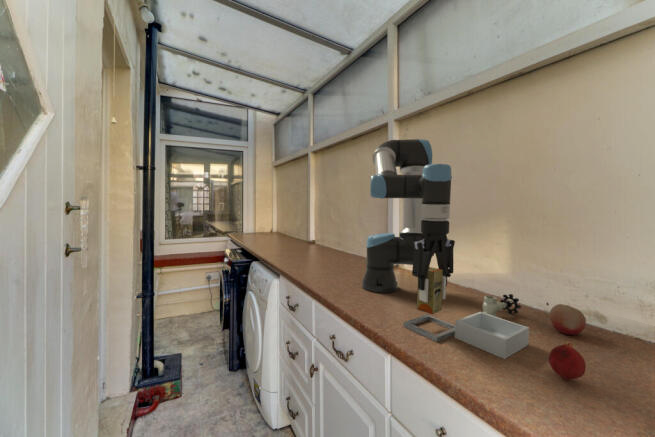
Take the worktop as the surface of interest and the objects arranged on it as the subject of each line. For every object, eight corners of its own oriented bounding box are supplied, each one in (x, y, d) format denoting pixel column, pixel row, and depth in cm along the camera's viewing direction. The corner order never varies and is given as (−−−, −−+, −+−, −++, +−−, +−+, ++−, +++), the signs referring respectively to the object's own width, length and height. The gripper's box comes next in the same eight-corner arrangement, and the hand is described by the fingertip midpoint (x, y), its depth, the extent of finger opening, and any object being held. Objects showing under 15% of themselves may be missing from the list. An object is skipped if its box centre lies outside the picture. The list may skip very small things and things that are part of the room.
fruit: (593, 338, 77) (595, 309, 77) (568, 340, 76) (570, 311, 75) (564, 325, 85) (566, 299, 85) (541, 327, 84) (543, 300, 83)
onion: (574, 392, 55) (576, 351, 54) (541, 375, 60) (543, 338, 59) (590, 384, 57) (593, 345, 56) (557, 369, 62) (559, 333, 62)
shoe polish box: (417, 309, 83) (418, 269, 82) (425, 305, 86) (426, 266, 85) (432, 314, 79) (434, 272, 78) (441, 310, 83) (442, 269, 82)
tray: (454, 337, 76) (455, 320, 76) (479, 326, 83) (480, 311, 83) (504, 359, 66) (505, 339, 66) (528, 344, 73) (529, 327, 73)
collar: (402, 326, 83) (403, 322, 83) (427, 318, 90) (427, 314, 89) (436, 342, 74) (436, 337, 74) (461, 331, 80) (461, 327, 80)
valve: (494, 322, 87) (520, 317, 92) (494, 301, 87) (521, 297, 91) (476, 314, 94) (501, 309, 98) (476, 294, 93) (502, 291, 97)
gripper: (418, 221, 73) (415, 308, 75) (470, 219, 80) (466, 299, 82) (399, 219, 80) (397, 299, 81) (449, 218, 87) (446, 291, 89)
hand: (432, 299), depth 82 cm, fingers closed on shoe polish box, 6 cm apart
